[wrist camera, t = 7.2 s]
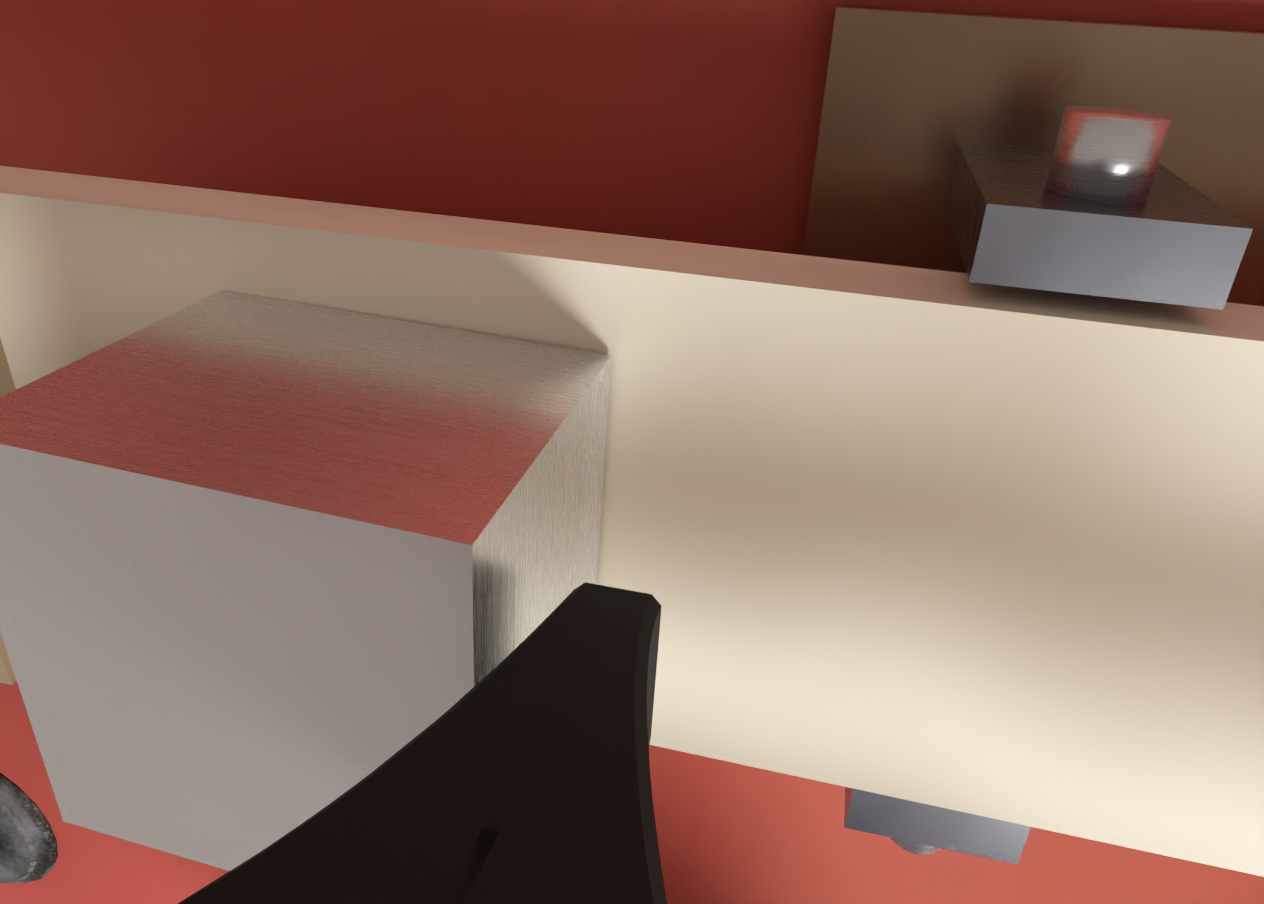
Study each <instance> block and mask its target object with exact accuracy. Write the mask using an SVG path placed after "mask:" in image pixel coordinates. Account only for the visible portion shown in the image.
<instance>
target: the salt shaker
mask: <svg viewBox="0 0 1264 904" xmlns="http://www.w3.org/2000/svg"><path fill="white" fill-rule="evenodd" d="M57 856H58V853H57V843H56V839H55V836H54V834H53V832H52V829H51V827H50V825H49V823H48V821H47V820H46V819H45V817H44V816H43V814H42V813H41V812H40V810H39V809H38V807H37V806H36V805H35V804H34V803H33V802H32V801H31V800H30V799H29V798H28V797H27V796H26V795H25V794H24V793H23V792H22V791H21V790H20V789H19V788H18V787H17V786H16V785H14V784H13V783H12V782H10V781H9V780H8V779H7V778H5V777H4V776H3V775H1V774H0V882H1V883H28V882H31V881H35V880H38V879H41V878H43V877H44V876H45V875H46V874H47V873H48V872H50V871H51V869H52V868H53V867H54V865H55V862H56V859H57Z"/></svg>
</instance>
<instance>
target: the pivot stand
mask: <svg viewBox="0 0 1264 904" xmlns="http://www.w3.org/2000/svg"><path fill="white" fill-rule="evenodd" d="M802 255H807V256H816V257H825V258H834V259H843V260H852V261H861V262H870V263H879V264H888V265H896V266H905V267H914V268H923V269H932V270H941V271H950V272H959V273H966V274H967V277H968V280H969V282H973V283H982V284H991V285H1000V286H1009V287H1019V288H1028V289H1037V290H1046V291H1055V292H1064V293H1073V294H1082V295H1092V296H1101V297H1110V298H1119V299H1128V300H1137V301H1146V302H1155V303H1165V304H1174V305H1183V306H1192V307H1201V308H1210V309H1219V310H1223V309H1224V306H1225V303H1226V302H1229V303H1238V304H1247V305H1256V306H1259V305H1260V302H1261V300H1262V297H1263V294H1264V32H1254V31H1237V30H1221V29H1204V28H1188V27H1172V26H1155V25H1139V24H1123V23H1106V22H1090V21H1073V20H1057V19H1041V18H1024V17H1008V16H992V15H975V14H959V13H942V12H926V11H910V10H893V9H877V8H861V7H844V6H837V7H836V12H835V19H834V27H833V34H832V41H831V48H830V56H829V63H828V70H827V78H826V85H825V92H824V99H823V107H822V114H821V121H820V129H819V136H818V143H817V151H816V158H815V165H814V172H813V180H812V187H811V194H810V202H809V209H808V216H807V223H806V231H805V238H804V245H803V253H802ZM844 827H845V828H849V829H854V830H859V831H864V832H868V833H873V834H878V835H882V836H887V837H890V838H891V839H892V840H893V841H894V842H895V843H896V844H897V845H899V846H900V847H902V848H903V849H905V850H907V851H910V852H912V853H916V854H921V855H930V854H934V853H937V852H939V851H941V850H942V849H948V850H953V851H957V852H962V853H967V854H971V855H976V856H981V857H985V858H990V859H995V860H1000V861H1004V862H1009V863H1014V864H1018V861H1019V858H1020V856H1021V853H1022V850H1023V848H1024V845H1025V842H1026V840H1027V837H1028V834H1029V831H1030V829H1031V827H1030V826H1025V825H1021V824H1016V823H1012V822H1007V821H1002V820H998V819H993V818H988V817H984V816H979V815H974V814H970V813H965V812H960V811H956V810H951V809H946V808H942V807H937V806H932V805H928V804H923V803H919V802H914V801H909V800H905V799H900V798H895V797H891V796H886V795H881V794H877V793H872V792H867V791H863V790H858V789H853V788H849V787H845V818H844Z"/></svg>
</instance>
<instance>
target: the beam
mask: <svg viewBox="0 0 1264 904" xmlns="http://www.w3.org/2000/svg"><path fill="white" fill-rule="evenodd" d="M222 290H227V291H233V292H239V293H245V294H251V295H257V296H263V297H269V298H274V299H280V300H286V301H292V302H298V303H304V304H310V305H316V306H322V307H328V308H333V309H339V310H345V311H351V312H357V313H363V314H369V315H375V316H381V317H387V318H393V319H398V320H404V321H410V322H416V323H422V324H428V325H434V326H440V327H446V328H452V329H458V330H463V331H469V332H475V333H481V334H487V335H493V336H499V337H505V338H511V339H517V340H523V341H528V342H534V343H540V344H546V345H552V346H558V347H564V348H570V349H576V350H582V351H588V352H593V353H599V354H605V355H611V371H610V386H609V401H608V416H607V431H606V446H605V461H604V476H603V491H602V505H601V520H600V535H599V550H598V565H597V580H596V584H597V585H603V586H608V587H614V588H620V589H625V590H631V591H636V592H642V593H647V594H652V595H653V596H654V598H655V599H656V600H657V601H658V602H659V604H660V605H661V618H660V631H659V643H658V655H657V667H656V680H655V692H654V704H653V716H652V729H651V739H650V744H649V745H653V746H658V747H663V748H667V749H672V750H677V751H681V752H686V753H691V754H695V755H700V756H705V757H709V758H714V759H719V760H723V761H728V762H732V763H737V764H742V765H746V766H751V767H756V768H760V769H765V770H770V771H774V772H779V773H784V774H788V775H793V776H798V777H802V778H807V779H812V780H816V781H821V782H825V783H830V784H835V785H839V786H844V787H849V788H853V789H858V790H863V791H867V792H872V793H877V794H881V795H886V796H891V797H895V798H900V799H905V800H909V801H914V802H919V803H923V804H928V805H932V806H937V807H942V808H946V809H951V810H956V811H960V812H965V813H970V814H974V815H979V816H984V817H988V818H993V819H998V820H1002V821H1007V822H1012V823H1016V824H1021V825H1025V826H1030V827H1035V828H1039V829H1044V830H1049V831H1053V832H1058V833H1063V834H1067V835H1072V836H1077V837H1081V838H1086V839H1091V840H1095V841H1100V842H1105V843H1109V844H1114V845H1118V846H1123V847H1128V848H1132V849H1137V850H1142V851H1146V852H1151V853H1156V854H1160V855H1165V856H1170V857H1174V858H1179V859H1184V860H1188V861H1193V862H1198V863H1202V864H1207V865H1211V866H1216V867H1221V868H1225V869H1230V870H1235V871H1239V872H1244V873H1249V874H1253V875H1258V876H1263V877H1264V306H1256V305H1247V304H1238V303H1229V302H1226V303H1225V306H1224V309H1223V310H1219V309H1210V308H1201V307H1192V306H1183V305H1174V304H1165V303H1155V302H1146V301H1137V300H1128V299H1119V298H1110V297H1101V296H1092V295H1082V294H1073V293H1064V292H1055V291H1046V290H1037V289H1028V288H1019V287H1009V286H1000V285H991V284H982V283H973V282H969V280H968V277H967V274H966V273H959V272H950V271H941V270H932V269H923V268H914V267H905V266H896V265H888V264H879V263H870V262H861V261H852V260H843V259H834V258H825V257H816V256H807V255H798V254H789V253H780V252H771V251H762V250H753V249H744V248H735V247H726V246H717V245H708V244H699V243H690V242H681V241H672V240H663V239H654V238H645V237H636V236H627V235H618V234H609V233H600V232H591V231H582V230H573V229H564V228H555V227H546V226H537V225H528V224H519V223H510V222H502V221H493V220H484V219H475V218H466V217H457V216H448V215H439V214H430V213H421V212H412V211H403V210H394V209H385V208H376V207H367V206H358V205H349V204H340V203H331V202H322V201H313V200H304V199H295V198H286V197H277V196H268V195H259V194H250V193H241V192H232V191H223V190H214V189H205V188H196V187H187V186H178V185H169V184H160V183H151V182H142V181H133V180H124V179H116V178H107V177H98V176H89V175H80V174H71V173H62V172H53V171H44V170H35V169H26V168H17V167H8V166H0V397H2V396H4V395H6V394H8V393H10V392H12V391H14V390H16V389H18V388H20V387H23V386H25V385H27V384H29V383H31V382H33V381H35V380H37V379H39V378H41V377H43V376H45V375H47V374H49V373H52V372H54V371H56V370H58V369H60V368H62V367H64V366H66V365H68V364H70V363H72V362H74V361H76V360H79V359H81V358H83V357H85V356H87V355H89V354H91V353H93V352H95V351H97V350H99V349H101V348H103V347H105V346H108V345H110V344H112V343H114V342H116V341H118V340H120V339H122V338H124V337H126V336H128V335H130V334H132V333H135V332H137V331H139V330H141V329H143V328H145V327H147V326H149V325H151V324H153V323H155V322H157V321H159V320H161V319H164V318H166V317H168V316H170V315H172V314H174V313H176V312H178V311H180V310H182V309H184V308H186V307H188V306H191V305H193V304H195V303H197V302H199V301H201V300H203V299H205V298H207V297H209V296H211V295H213V294H215V293H217V292H220V291H222ZM16 682H17V680H16V677H15V674H14V671H13V668H12V665H11V662H10V659H9V656H8V653H7V650H6V647H5V644H4V641H3V638H2V635H1V632H0V683H2V684H6V685H11V686H12V685H13V684H14V683H16Z"/></svg>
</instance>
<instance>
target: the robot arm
mask: <svg viewBox="0 0 1264 904" xmlns="http://www.w3.org/2000/svg"><path fill="white" fill-rule="evenodd" d="M660 618H661V605H660V604H659V602H658V601H657V600H656V599H655V598H654V596H653V595H652V594H647V593H642V592H636V591H631V590H625V589H620V588H614V587H608V586H603V585H597V584H592V583H586V582H585V583H583V584H582V585H580V586H579V587H577V588H576V589H574V590H573V591H572V592H571V593H570V594H569V595H568V596H567V597H566V599H565V600H564V601H563V602H562V603H561V604H560V605H559V606H558V607H557V608H556V609H555V610H554V611H553V612H552V613H551V614H550V615H549V616H548V617H547V618H546V619H545V620H544V621H543V622H542V623H541V624H540V625H539V626H538V627H537V628H536V629H535V630H534V631H533V632H532V633H531V634H530V635H529V636H528V637H527V638H526V639H525V640H524V641H523V642H522V643H521V644H520V645H519V646H518V647H517V648H516V649H515V650H513V651H512V652H511V653H510V654H509V655H508V656H507V657H506V658H505V659H504V660H503V661H502V662H501V663H500V664H499V665H498V666H497V667H495V668H494V669H493V670H492V671H491V672H490V673H489V674H488V675H487V676H485V677H484V678H483V679H482V680H481V681H480V682H479V683H478V684H477V685H475V686H474V687H473V688H472V689H471V690H470V691H469V692H468V693H467V694H465V695H464V696H463V697H462V698H461V699H460V700H459V701H458V702H457V703H455V704H454V705H453V706H452V707H451V708H450V709H449V710H448V711H446V712H445V713H444V714H443V715H442V716H441V717H439V718H438V719H437V720H436V721H435V722H434V723H432V724H431V725H430V726H429V727H427V728H426V729H425V730H424V731H422V732H421V733H420V734H419V735H417V736H416V737H415V738H414V739H412V740H411V741H410V742H409V743H408V744H406V745H405V746H404V747H403V748H401V749H400V750H399V751H398V752H396V753H395V754H394V755H393V756H391V757H390V758H389V759H388V760H386V761H385V762H384V763H383V764H382V765H380V766H379V767H378V768H377V769H375V770H374V771H373V772H372V773H370V774H369V775H368V776H366V777H365V778H364V779H362V780H361V781H360V782H358V783H357V784H356V785H354V786H353V787H352V788H350V789H349V790H348V791H346V792H345V793H344V794H342V795H341V796H340V797H338V798H337V799H336V800H334V801H333V802H331V803H330V804H329V805H327V806H326V807H325V808H323V809H322V810H320V811H319V812H318V813H316V814H315V815H313V816H312V817H311V818H309V819H308V820H306V821H305V822H303V823H302V824H300V825H299V826H297V827H296V828H295V829H293V830H292V831H290V832H289V833H287V834H286V835H284V836H283V837H281V838H280V839H279V840H277V841H276V842H274V843H273V844H271V845H270V846H268V847H267V848H265V849H264V850H262V851H261V852H259V853H258V854H256V855H255V856H253V857H251V858H250V859H248V860H247V861H245V862H243V863H242V864H240V865H239V866H237V867H236V868H234V869H232V870H231V871H229V872H228V873H226V874H224V875H223V876H221V877H220V878H218V879H216V880H215V881H213V882H212V883H210V884H208V885H207V886H205V887H204V888H202V889H201V890H199V891H197V892H196V893H194V894H193V895H191V896H189V897H188V898H186V899H185V900H183V901H181V902H180V903H178V904H667V901H666V895H665V889H664V883H663V877H662V870H661V863H660V856H659V850H658V842H657V833H656V825H655V817H654V809H653V801H652V790H651V779H650V768H649V744H650V739H651V729H652V716H653V704H654V692H655V680H656V667H657V655H658V643H659V631H660Z"/></svg>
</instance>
